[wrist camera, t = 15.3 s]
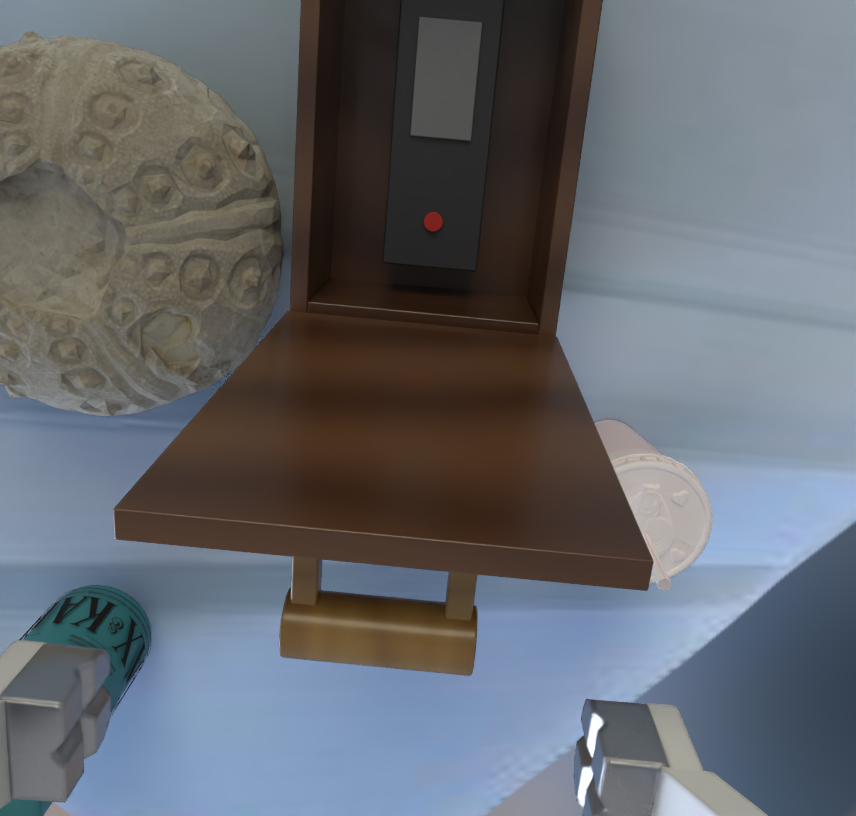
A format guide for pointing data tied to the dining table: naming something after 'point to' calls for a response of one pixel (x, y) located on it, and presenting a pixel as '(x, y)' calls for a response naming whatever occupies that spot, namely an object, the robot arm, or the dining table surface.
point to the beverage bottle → (93, 646)
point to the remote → (441, 131)
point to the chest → (505, 182)
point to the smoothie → (659, 500)
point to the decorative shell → (126, 229)
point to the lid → (395, 480)
